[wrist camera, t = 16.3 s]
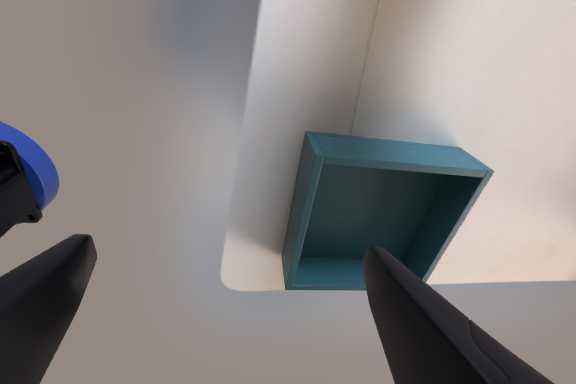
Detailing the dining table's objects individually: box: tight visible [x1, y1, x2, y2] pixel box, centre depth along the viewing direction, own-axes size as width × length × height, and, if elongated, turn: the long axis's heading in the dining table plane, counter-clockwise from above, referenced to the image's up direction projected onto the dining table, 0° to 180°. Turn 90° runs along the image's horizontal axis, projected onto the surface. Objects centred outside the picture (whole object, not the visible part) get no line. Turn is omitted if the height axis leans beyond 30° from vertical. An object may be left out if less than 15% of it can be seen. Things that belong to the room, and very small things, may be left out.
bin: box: [282, 132, 494, 290], centre depth 24 cm, size 13×13×4 cm
